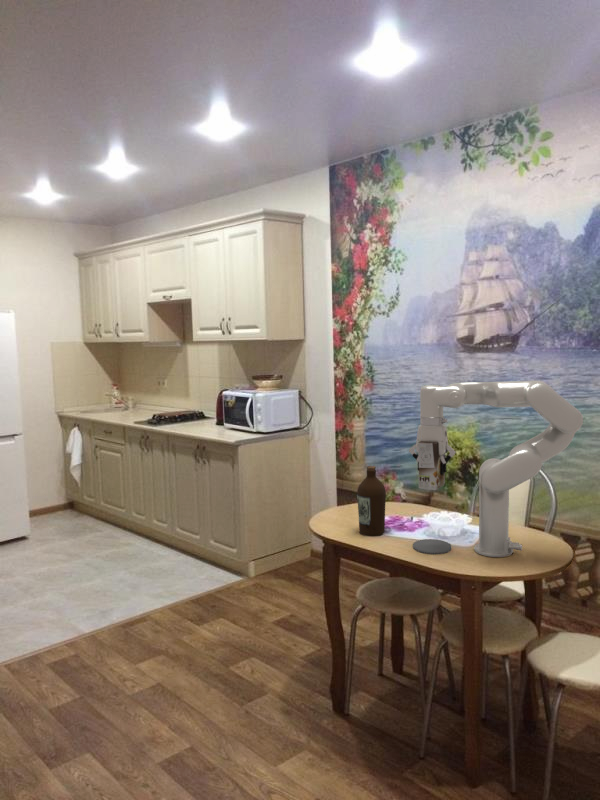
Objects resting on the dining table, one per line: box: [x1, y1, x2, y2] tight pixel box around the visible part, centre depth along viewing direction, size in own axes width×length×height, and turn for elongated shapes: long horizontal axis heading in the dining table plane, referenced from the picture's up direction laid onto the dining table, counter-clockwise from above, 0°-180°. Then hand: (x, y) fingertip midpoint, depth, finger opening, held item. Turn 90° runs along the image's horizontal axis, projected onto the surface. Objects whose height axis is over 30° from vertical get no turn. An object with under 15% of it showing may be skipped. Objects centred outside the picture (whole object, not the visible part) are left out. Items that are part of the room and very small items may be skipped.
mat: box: [412, 538, 452, 555], centre depth 226 cm, size 13×13×1 cm
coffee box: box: [418, 441, 446, 491], centre depth 223 cm, size 9×6×16 cm
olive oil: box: [356, 465, 387, 537], centre depth 243 cm, size 11×11×25 cm
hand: (431, 473), depth 223 cm, fingers closed on coffee box, 6 cm apart
